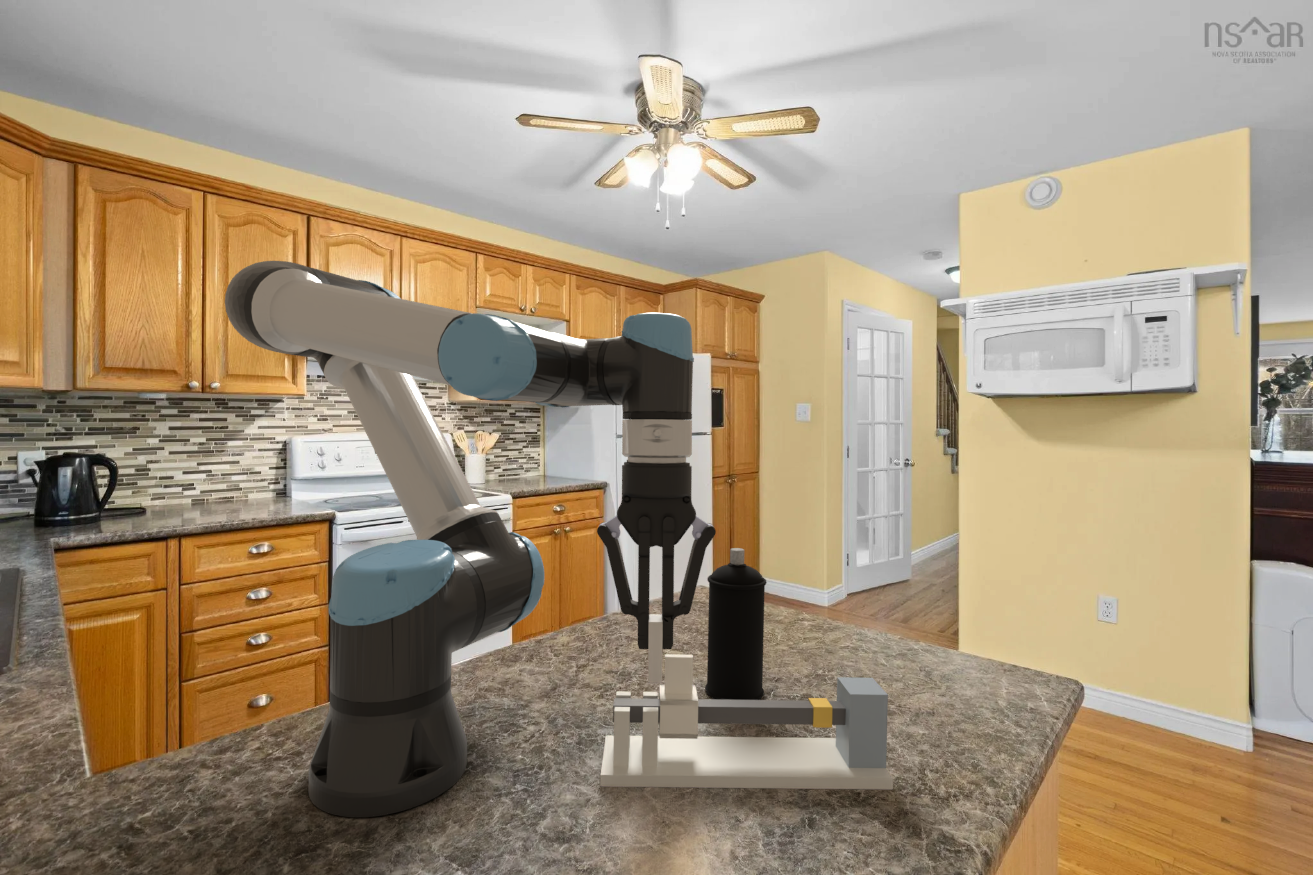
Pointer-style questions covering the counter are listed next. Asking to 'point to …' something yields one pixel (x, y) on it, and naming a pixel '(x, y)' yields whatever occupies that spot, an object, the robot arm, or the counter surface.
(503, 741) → the counter surface
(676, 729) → the sleeve
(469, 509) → the robot arm
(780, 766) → the grey rod on board
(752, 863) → the counter surface
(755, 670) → the aerosol can
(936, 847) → the counter surface
